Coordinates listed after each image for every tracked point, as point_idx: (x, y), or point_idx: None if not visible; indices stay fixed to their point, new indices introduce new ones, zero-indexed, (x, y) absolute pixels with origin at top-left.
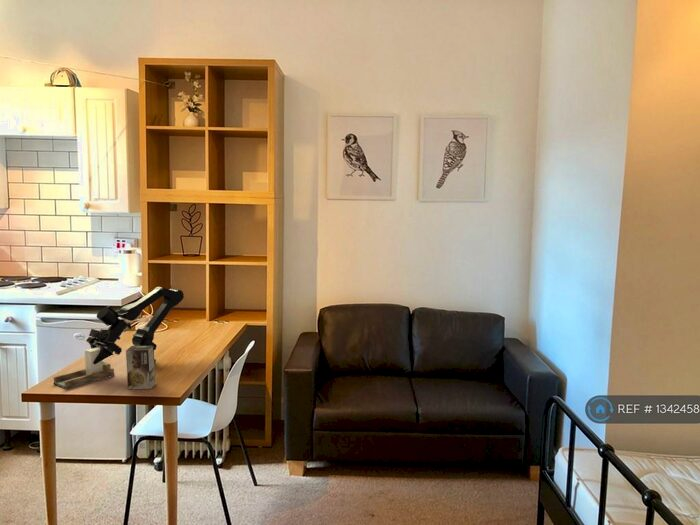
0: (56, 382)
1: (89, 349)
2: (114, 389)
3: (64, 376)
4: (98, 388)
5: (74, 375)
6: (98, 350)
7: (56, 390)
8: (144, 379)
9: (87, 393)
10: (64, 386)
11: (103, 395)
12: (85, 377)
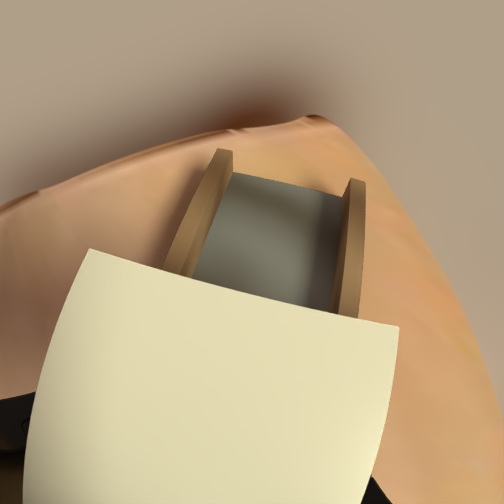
0: (332, 197)
1: (319, 440)
2: (7, 257)
3: (343, 232)
4: (66, 242)
5: (332, 303)
6: (34, 451)
7: (252, 157)
8: None
9: (85, 182)
10: (236, 174)
11: (25, 195)
12: (169, 257)
